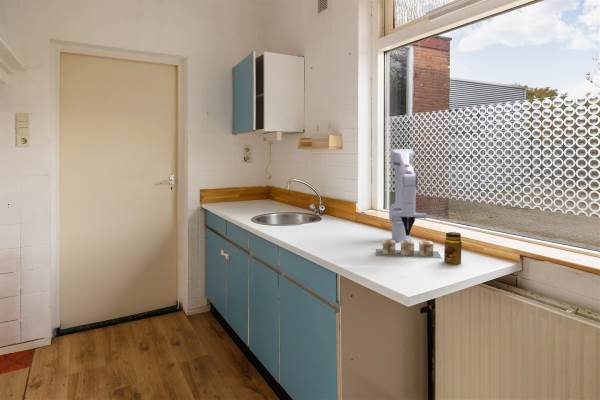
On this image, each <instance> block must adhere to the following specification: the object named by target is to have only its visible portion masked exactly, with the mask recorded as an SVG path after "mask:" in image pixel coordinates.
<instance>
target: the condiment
mask: <svg viewBox="0 0 600 400" xmlns="http://www.w3.org/2000/svg"><path fill="white" fill-rule="evenodd" d="M461 239H462V237H461V233H460V232H456V231H449V232H448V231H447V232H446V234H445V239H444V251H443V252H444V255H443V256H444V257H443V258H444V259H443V261H444V263H445V264H448V265H456V266H457V265H460V264H461V263H462V245H463V244H462V240H461Z"/></svg>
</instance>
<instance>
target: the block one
mask: <svg viewBox="0 0 600 400" xmlns="http://www.w3.org/2000/svg"><path fill="white" fill-rule="evenodd" d="M382 249H383V254H390V255H395V250H396V242H395V240H390V239H383V240H382Z"/></svg>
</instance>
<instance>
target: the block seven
mask: <svg viewBox="0 0 600 400" xmlns="http://www.w3.org/2000/svg"><path fill="white" fill-rule="evenodd" d="M418 244H419V245H418V251H419V254H420V256H433V251H434V243H433V241H432V240H419V242H418Z"/></svg>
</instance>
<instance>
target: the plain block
mask: <svg viewBox="0 0 600 400" xmlns="http://www.w3.org/2000/svg"><path fill="white" fill-rule="evenodd" d="M400 250H401V255H414V251H415V241H414V240H410V241H405V240H401V242H400Z"/></svg>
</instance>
